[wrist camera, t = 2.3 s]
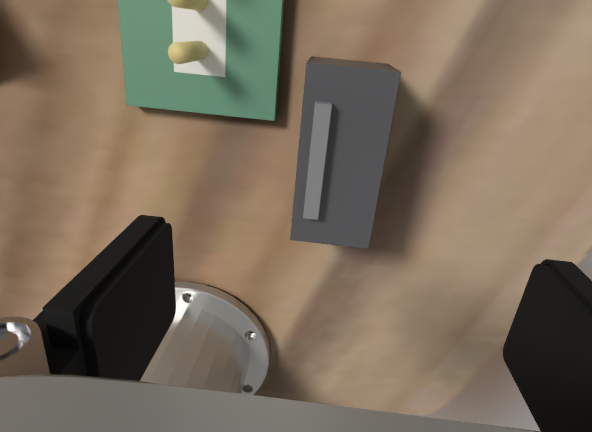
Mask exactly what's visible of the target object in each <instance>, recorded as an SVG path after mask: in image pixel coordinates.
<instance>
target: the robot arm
mask: <svg viewBox="0 0 592 432" xmlns="http://www.w3.org/2000/svg"><path fill="white" fill-rule="evenodd" d="M503 357H504V361H505V363H506V365H507V367H508V369H509V370H510V372H511V375H512V376H513V378H514V380H515V382H516V384H517V386H518V388H519V390H520V392H521V394H522V396H523V398H524V400H525V401H526V403H527V405H528V407H529V409H530V411H531V413H532V415H533V417H534V419H535V421H536V423H537V425H538V427H539V428H540V431H541V432H592V281H591V280H590V279H589V278H588V277H587V276H586V275H585V274H584V273H583V272H582V271H581V270H580V269H579V268H578V267H577V266H576V265H575V264H573V263H572V262H566V261H557V260H548V259H546V260H544V261H543V262H542V263H541V264H537V265H535V266H534V268H533V270H532V272H531V275H530V278H529V280H528V283H527V286H526V288H525V291H524V294H523V296H522V299H521V301H520V304H519V307H518V309H517V312H516V315H515V317H514V320H513V323H512V325H511V328H510V331H509V333H508V336H507V339H506V341H505V344H504V347H503ZM269 359H270V348H269V342H268V338H267V336H266V333H265V331H264V328H263V327H262V325H261V324H260V322H259V321H258V319H257V318H256V316H255V315H254V314H253V313H252V312H251V311H250V310H249V309H248V308H247V307H246V306H245V305H244V304H242V303H241V302H239V301H238V300H237V299H235V298H234V297H233V296H231V295H229V294H227V293H225V292H223V291H221V290H219V289H216V288H213V287H210V286H207V285H204V284H198V283H192V282H175V278H174V259H173V240H172V227H171V224H170V223H165V220H164V218H163V217H155V216H146V215H140V216H138V217H137V218H136V219H135V220H134V221H133V222H132V223H131V224H130V225H129V226H128V227H127V228H126V229H125V230H124V231H123V232H122V233H121V234H120V235H118V236H117V237H116V238H115V239H114V240H113V241H112V242H111V243H110V244H109V245H108V246H107V247H106V248H105V249H104V250H103V251H102V252H101V253H100V254H99V255H97V256H96V257H95V258H94V259H93V260H92V261H91V262H90V263H89V264H88V265H87V266H86V267H85V268H84V269H83V270H82V271H81V272H80V273H79V274H77V275H76V276H75V277H74V278H73V279H72V280H71V281H70V282H69V283H68V284H67V285H66V286H65V287H64V288H63V289H62V290H61V291H60V292H59V293H58V294H56V295H55V296H54V297H53V298H52V299H51V300H50V301H49V302H48V303H47V304H46V305H45V306H44V307H43V311H42V312H41V313H40V314H39V315H38V316H37V317H36V318H35V319H34V320H33V321H32V320H30V319H27V318H22V317H6V318H0V432H538V431H531V430H523V429H516V428H508V427H501V426H493V425H485V424H477V423H469V422H462V421H454V420H446V419H438V418H430V417H423V416H415V415H407V414H399V413H391V412H383V411H376V410H368V409H360V408H352V407H344V406H336V405H328V404H320V403H312V402H305V401H297V400H289V399H281V398H273V397H266V396H258V395H254V394H255V393H256V392H257V390H258V389H259V388H260V387H261V385H262V383H263V381H264V379H265V377H266V375H267V370H268V366H269Z"/></svg>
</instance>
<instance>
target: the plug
mask: <svg viewBox="0 0 592 432" xmlns="http://www.w3.org/2000/svg"><path fill="white" fill-rule="evenodd" d="M400 75H401V72H400V71H399V70H397V69H395V68H394V67H392V66H390V65H389V64H382V63H372V62H362V61H352V60H342V59H332V58H322V57H311V58H310V59H309V60H308V61H307V64H306V74H305V85H304V96H303V107H302V118H301V128H300V139H299V150H298V161H297V172H296V183H295V193H294V204H293V215H292V226H291V237H290V240H296V241H305V242H313V243H322V244H331V245H339V246H348V247H356V248H365V249H368V248H369V243H370V238H371V232H372V227H373V221H374V216H375V210H376V205H377V200H378V194H379V189H380V183H381V178H382V173H383V167H384V162H385V156H386V151H387V145H388V140H389V135H390V129H391V124H392V118H393V113H394V107H395V102H396V97H397V91H398V86H399V80H400Z"/></svg>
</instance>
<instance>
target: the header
mask: <svg viewBox="0 0 592 432" xmlns="http://www.w3.org/2000/svg"><path fill="white" fill-rule="evenodd" d="M118 6H119V18H120V31H121V43H122V55H123V67H124V79H125V91H126V103H127V105H129V106H139V107H148V108H158V109H167V110H177V111H186V112H196V113H205V114H214V115H224V116H233V117H243V118H252V119H262V120H271V121H275V119H276V118H277V103H278V88H279V73H280V59H281V44H282V29H283V14H284V0H118Z"/></svg>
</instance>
